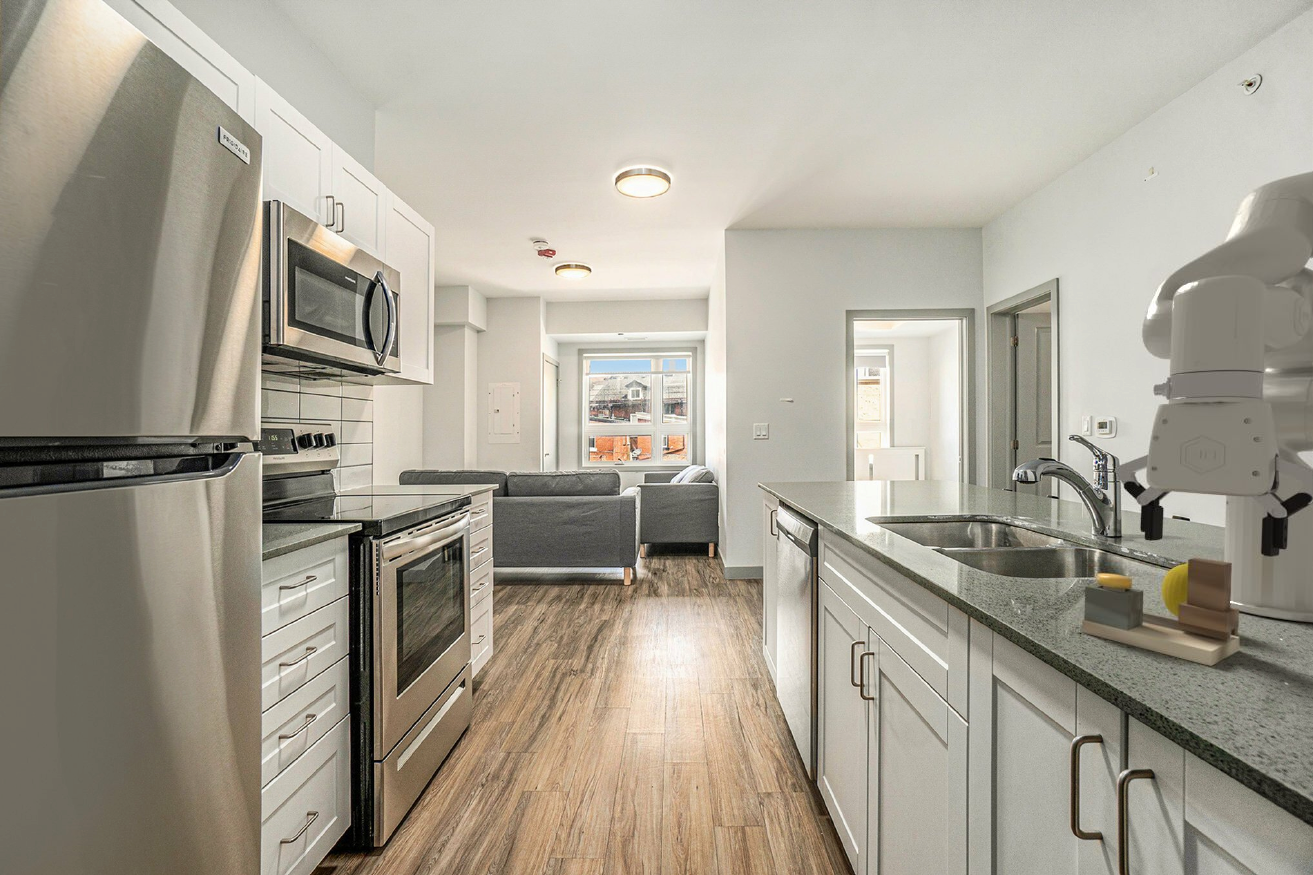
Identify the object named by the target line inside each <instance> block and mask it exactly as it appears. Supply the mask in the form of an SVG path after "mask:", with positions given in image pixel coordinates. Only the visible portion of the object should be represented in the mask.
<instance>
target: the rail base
mask: <svg viewBox="0 0 1313 875" xmlns="http://www.w3.org/2000/svg"><path fill="white" fill-rule="evenodd" d="M1084 590H1085V591H1084V613H1083V615H1084V618H1083V619H1082V621H1081V622H1082V623H1081V633H1083V634H1087V635H1091V636H1095V637H1098V638H1102V639H1107V640H1110V641H1115V642H1119V643H1122V644H1125V645H1129V646H1132V647H1136V648H1140V649H1145V650H1148V651H1153V652H1156V653H1159V654H1163V655H1167V656H1171V657H1175V658H1179V659H1182V660H1186V661H1190V662H1194V663H1198V664H1200V665H1201V664H1202V665H1205V666H1210V667H1211V666H1214V665H1216V664H1217V663H1219V662H1221V661H1224V660H1225V659H1227V658H1228V657H1230V656H1232V655H1233V654H1235V653H1237V652H1239V651H1240V641H1241V640H1240V636H1237V635H1235V636H1233V635H1231V631H1230V638H1229V639H1227V640H1225V639H1221V638H1217V637H1212V636H1208V635H1204V634H1199V633H1195V632H1191V631H1186V630H1182V629H1178V628H1179V622H1178V617H1174V616H1169V615H1165V614H1160V613H1154V612H1151V611H1145V610H1144V590H1142V589H1136V588H1133V587H1132V588H1130V589H1125V592H1123V593H1122V592H1117V591H1112V590H1107V589H1103V585H1100V584H1098V583H1097V582H1096V583H1094V584H1089V585H1085V586H1084Z"/></svg>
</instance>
